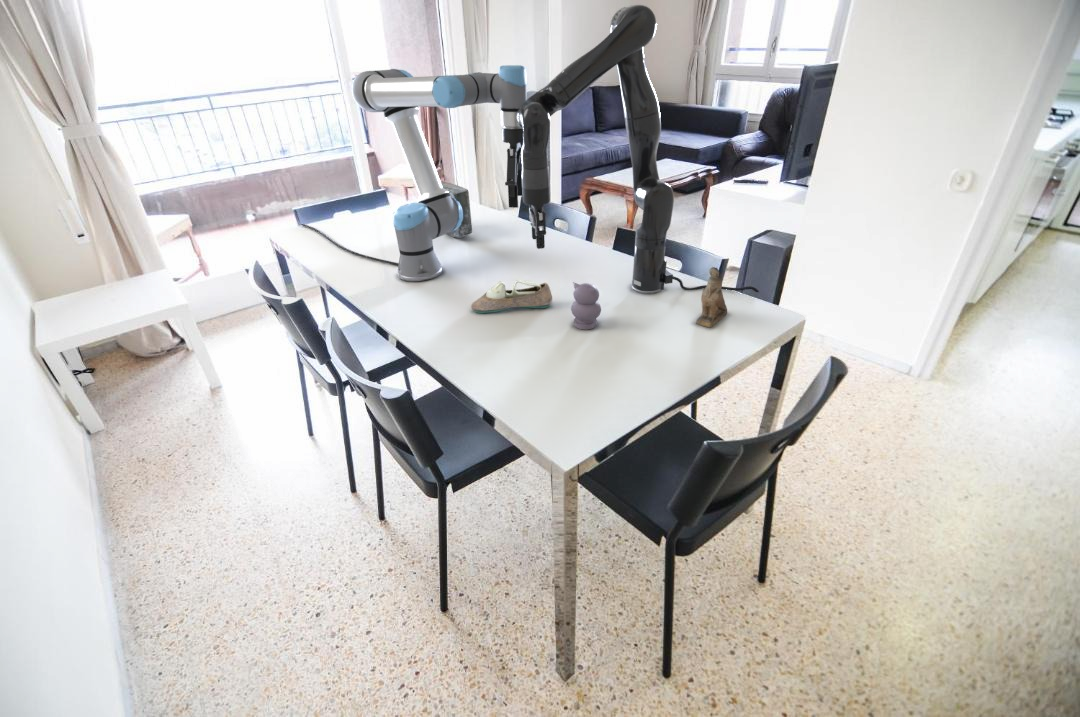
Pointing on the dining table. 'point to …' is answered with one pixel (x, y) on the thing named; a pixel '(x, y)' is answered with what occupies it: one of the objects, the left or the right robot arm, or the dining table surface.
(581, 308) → the cat figurine
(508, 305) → the speckled felt slipper
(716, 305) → the worn brown figurine
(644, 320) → the dining table surface
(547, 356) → the dining table surface
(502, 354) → the dining table surface
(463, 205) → the concrete block
